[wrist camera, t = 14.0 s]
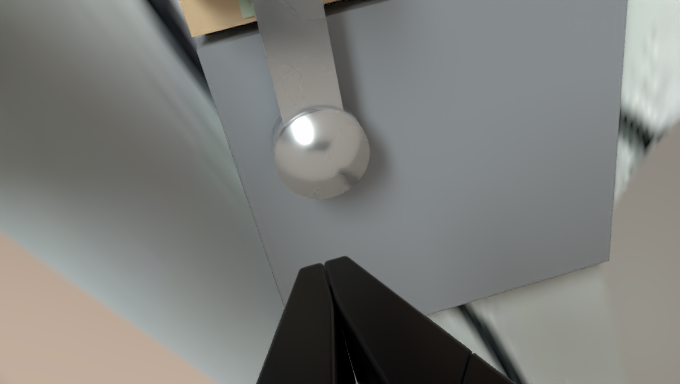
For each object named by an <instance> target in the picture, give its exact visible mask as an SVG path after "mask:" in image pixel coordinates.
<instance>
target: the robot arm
mask: <svg viewBox="0 0 680 384" xmlns="http://www.w3.org/2000/svg"><path fill="white" fill-rule="evenodd" d="M324 267H325V268H324ZM326 274H327V275H326ZM328 281H329V282H328ZM345 342H346V343H345ZM347 349H348V350H347ZM348 353H349V354H348ZM349 356H350V357H349ZM350 360H351V361H350ZM351 364H352V365H351ZM352 367H353V368H352ZM353 371H354V372H353ZM354 374H355V376H354ZM355 377H356V380H357V384H516V383H514V382H513V381H512V380H510V379H509V378H507V377H506V376H505V375H503V374H502V373H500V372H499V371H498V370H496V369H495V368H493V367H492V366H491V365H490V364H488V363H487V362H486V361H484V360H483V359H482V358H480V357H479V356H478V355H477V354H475V353H473V354H472V351H471V350H470V349H468V348H467V347H466V346H464V345H463V344H462V343H461V342H459V341H458V340H457V339H455V338H454V337H453V336H451V335H450V334H449V333H447V332H446V331H445V330H444V329H442V328H441V327H440V326H438V325H437V324H436V323H434V322H433V321H432V320H430V319H429V318H428V317H426V316H425V315H424V314H423V313H421V312H420V311H419V310H417V309H416V308H415V307H413V306H412V305H411V304H409V303H408V302H407V301H406V300H404V299H403V298H402V297H400V296H399V295H398V294H396V293H395V292H394V291H392V290H391V289H390V288H389V287H387V286H386V285H385V284H383V283H382V282H381V281H379V280H378V279H377V278H375V277H374V276H373V275H372V274H370V273H369V272H368V271H366V270H365V269H364V268H362V267H361V266H360V265H358V264H357V263H356V262H354V261H353V260H352V259H351V258H349V257H348V256H341V257H337V258H334V259H330V260H327V261H326V262H325V263H324V265H323V264H322V263H317V264H313V265H310V266H306V267H303V268H301V269H300V270H299V272H298V274H297V277H296V279H295V282H294V285H293V287H292V290H291V293H290V295H289V298H288V301H287V303H286V306H285V309H284V311H283V314H282V317H281V319H280V322H279V324H278V327H277V330H276V332H275V335H274V338H273V340H272V343H271V346H270V348H269V351H268V354H267V356H266V359H265V362H264V364H263V367H262V370H261V372H260V375H259V378H258V380H257V383H256V384H356V380H355Z"/></svg>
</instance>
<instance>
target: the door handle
mask: <svg viewBox="0 0 680 384" xmlns="http://www.w3.org/2000/svg"><path fill="white" fill-rule="evenodd" d="M252 4H253V8H254V12H255V16H256V20H257V24H258V28H259V31H260V35H261V39H262V43H263V47H264V51H265V55H266V59H267V63H268V67H269V71H270V75H271V79H272V83H273V86H274V90H275V94H276V98H277V102H278V106H279V110H280V114H281V115H280V117H279V118H278V120H277V121H276V123H275V125H274V128H273V131H272V136H271V147H272V152H273V157H274V161H275V166H276V170H277V173H278V175H279V177H280V179H281V180H282V182H283V183H284V184H285V185H286V186H287V187H288V188H289V189H290V190H291V191H293V192H294V193H296V194H298V195H300V196H303V197H306V198H311V199H327V198H332V197H335V196H338V195H340V194H342V193H344V192H346V191H348V190H349V189H350V188H352V187H353V186H354V185H355V184H356V183H357V182H358V181H359V180H360V179H361V177H362V176H363V174H364V172H365V170H366V168H367V165H368V162H369V157H370V147H369V142H368V139H367V136H366V134H365V132H364V131H363V129H362V127H361V126H360V124H359V122H358V121H357V119H356V118H355V116H354V114H353V113H352V112H351V111H350V110H349V109H348V108H347V107H346V106H345V105H343V104H342V100H341V95H340V90H339V85H338V79H337V74H336V69H335V64H334V58H333V53H332V48H331V43H330V37H329V32H328V27H327V21H326V16H325V11H324V6H323V0H252Z"/></svg>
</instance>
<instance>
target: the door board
mask: <svg viewBox="0 0 680 384" xmlns="http://www.w3.org/2000/svg"><path fill="white" fill-rule="evenodd" d="M179 1H180V4H181V7H182V10H183V13H184V15H185V18H186V21H187V24H188V27H189V30H190V33H191V36H192V37H195V36H199V35H203V34H207V33H211V32H215V31H219V30H223V29H227V28H231V27H235V26H239V25H243V24H247V23H251V22H255V21H257V20H256V16H255V12H254V8H253V4H252V0H179ZM334 1H338V0H323V4H326V3H330V2H334ZM627 1H628V0H347V1H343V2H339V3H335V4H332V5H328V6H324V11H325V16H326V21H327V27H328V32H329V37H330V43H331V48H332V53H333V58H334V64H335V69H336V74H337V79H338V85H339V90H340V95H341V100H342V104H343V105H345V106H346V107H347V108H348V109H349V110H350V111H351V112H352V113H353V114H354V116H355V118H356V119H357V121H358V122H359V124H360V126H361V127H362V129H363V131H364V132H365V134H366V136H367V139H368V142H369V147H370V157H369V162H368V165H367V168H366V170H365V172H364V174H363V176H362V177H361V179H360V180H359V181H358V182H357V183H356V184H355V185H354V186H353V187H352V188H350V189H349V190H348V191H346V192H344V193H342V194H340V195H338V196H335V197H332V198H327V199H311V198H306V197H303V196H300V195H298V194H296V193H294V192H293V191H291V190H290V189H289V188H288V187H287V186H286V185H285V184H284V183H283V182H282V180H281V179H280V177H279V175H278V173H277V170H276V166H275V161H274V157H273V152H272V147H271V136H272V131H273V128H274V125H275V123H276V121H277V120H278V118H279V117H280V115H281V114H280V110H279V106H278V102H277V98H276V94H275V90H274V86H273V83H272V79H271V75H270V71H269V67H268V63H267V59H266V55H265V51H264V47H263V43H262V39H261V35H260V31H259V28H258V24H253V25H249V26H245V27H241V28H237V29H233V30H229V31H225V32H221V33H217V34H213V35H209V36H205V37H201V38H198V41H197V48H196V51H197V53H198V56H199V59H200V62H201V65H202V68H203V71H204V74H205V77H206V80H207V83H208V86H209V89H210V91H211V94H212V97H213V100H214V103H215V106H216V109H217V112H218V115H219V118H220V121H221V124H222V127H223V129H224V132H225V135H226V138H227V141H228V144H229V147H230V150H231V153H232V156H233V159H234V162H235V165H236V167H237V170H238V173H239V176H240V179H241V182H242V185H243V188H244V191H245V194H246V197H247V200H248V203H249V205H250V208H251V211H252V214H253V217H254V220H255V223H256V226H257V229H258V232H259V235H260V238H261V241H262V243H263V246H264V249H265V252H266V255H267V258H268V261H269V264H270V267H271V270H272V273H273V276H274V279H275V281H276V284H277V287H278V290H279V293H280V296H281V299H282V302H283V305H284V308H285V306H286V303H287V301H288V298H289V295H290V293H291V290H292V287H293V285H294V282H295V279H296V277H297V274H298V272H299V270H300V269H301V268H303V267H306V266H310V265H313V264H317V263H322V264H323V265H324V263H325V262H326V261H327V260H330V259H334V258H337V257H341V256H348V257H349V258H351V259H352V260H353V261H354V262H356V263H357V264H358V265H360V266H361V267H362V268H364V269H365V270H366V271H368V272H369V273H370V274H372V275H373V276H374V277H375V278H377V279H378V280H379V281H381V282H382V283H383V284H385V285H386V286H387V287H389V288H390V289H391V290H392V291H394V292H395V293H396V294H398V295H399V296H400V297H402V298H403V299H404V300H406V301H407V302H408V303H409V304H411V305H412V306H413V307H415V308H416V309H417V310H419V311H420V312H421V313H423V314H424V315H429V314H432V313H436V312H439V311H442V310H446V309H449V308H452V307H456V306H459V305H462V304H466V303H469V302H472V301H476V300H479V299H482V298H486V297H489V296H492V295H496V294H499V293H502V292H506V291H509V290H512V289H516V288H519V287H522V286H526V285H529V284H532V283H536V282H539V281H542V280H546V279H549V278H552V277H556V276H559V275H562V274H566V273H569V272H572V271H576V270H579V269H582V268H586V267H589V266H592V265H596V264H599V263H602V262H606V261H609V252H610V239H611V226H612V212H613V198H614V184H615V170H616V156H617V142H618V128H619V113H620V99H621V85H622V71H623V57H624V43H625V29H626V15H627ZM324 268H325V267H324ZM326 275H327V274H326ZM328 282H329V281H328Z"/></svg>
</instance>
